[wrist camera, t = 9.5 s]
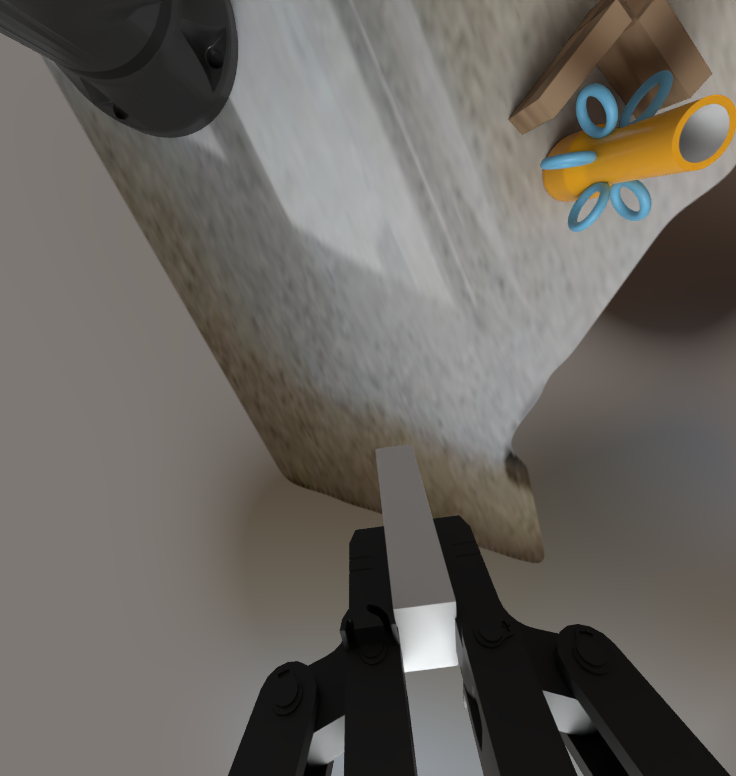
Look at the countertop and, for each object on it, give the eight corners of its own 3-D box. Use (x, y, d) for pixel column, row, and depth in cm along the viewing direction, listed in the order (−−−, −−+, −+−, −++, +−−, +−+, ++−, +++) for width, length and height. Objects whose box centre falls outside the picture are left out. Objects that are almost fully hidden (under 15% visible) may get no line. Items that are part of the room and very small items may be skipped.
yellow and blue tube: (639, 186, 37) (807, 163, 23) (550, 252, 39) (655, 265, 26) (595, 68, 32) (771, -46, 19) (498, 149, 35) (592, 100, 21)
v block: (650, 116, 34) (707, 95, 29) (507, 136, 34) (537, 119, 29) (671, -4, 31) (741, -53, 25) (512, 20, 31) (546, -24, 25)
